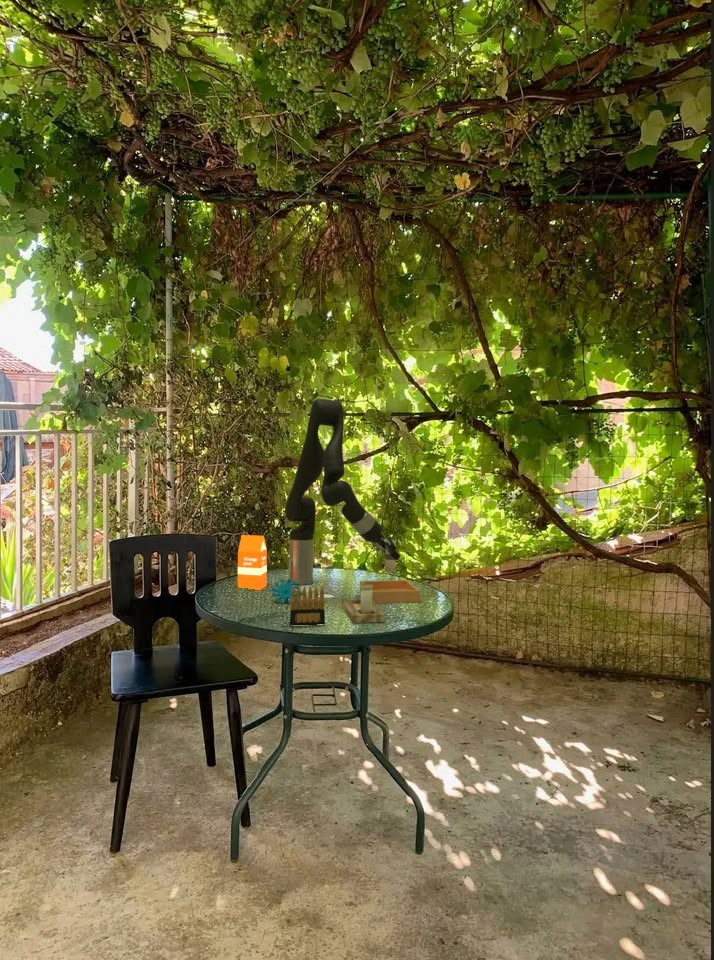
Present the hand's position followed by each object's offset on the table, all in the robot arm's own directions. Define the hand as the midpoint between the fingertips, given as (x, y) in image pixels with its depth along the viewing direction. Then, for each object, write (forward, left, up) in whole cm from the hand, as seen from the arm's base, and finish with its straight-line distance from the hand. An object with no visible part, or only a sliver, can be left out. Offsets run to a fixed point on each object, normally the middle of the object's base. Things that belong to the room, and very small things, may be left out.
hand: (394, 557), depth 252 cm
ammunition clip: (-35, -34, -15) cm, 51 cm away
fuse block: (-16, -23, -14) cm, 31 cm away
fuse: (-16, -30, -14) cm, 37 cm away
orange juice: (-50, +18, -15) cm, 55 cm away
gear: (-39, -3, -15) cm, 41 cm away
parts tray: (-2, -1, -14) cm, 14 cm away
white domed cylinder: (-2, -1, -5) cm, 5 cm away
